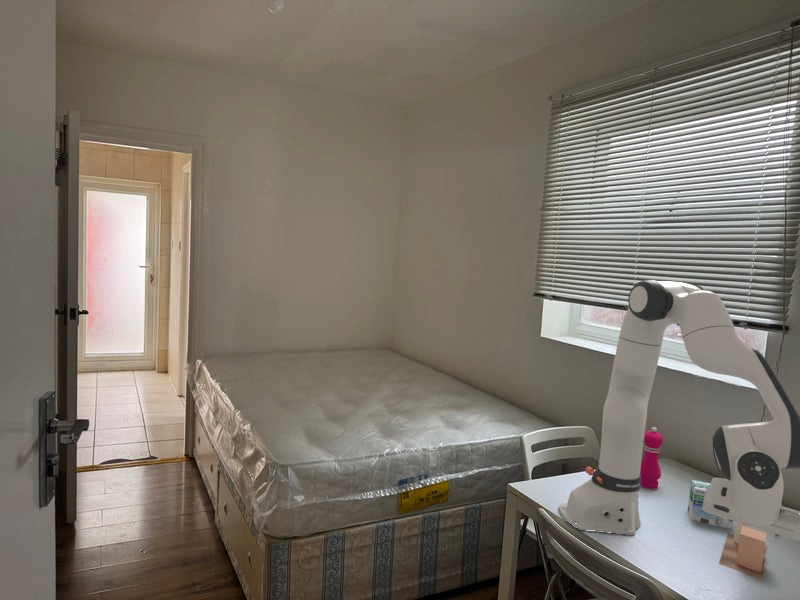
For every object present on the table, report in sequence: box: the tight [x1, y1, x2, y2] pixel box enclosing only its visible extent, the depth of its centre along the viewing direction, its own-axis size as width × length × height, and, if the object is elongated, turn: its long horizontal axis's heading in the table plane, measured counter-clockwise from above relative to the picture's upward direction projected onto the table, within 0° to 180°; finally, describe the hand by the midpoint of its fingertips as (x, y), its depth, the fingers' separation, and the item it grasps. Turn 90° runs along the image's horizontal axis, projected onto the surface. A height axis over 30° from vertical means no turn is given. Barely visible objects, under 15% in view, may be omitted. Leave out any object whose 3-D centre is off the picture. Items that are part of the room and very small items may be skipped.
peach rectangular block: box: [736, 526, 768, 572], centre depth 135 cm, size 5×5×8 cm
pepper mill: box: [640, 426, 664, 490], centre depth 179 cm, size 7×7×20 cm
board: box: [718, 533, 768, 580], centre depth 139 cm, size 19×9×4 cm, turn 143°
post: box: [733, 521, 749, 544], centre depth 145 cm, size 3×3×7 cm
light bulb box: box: [687, 479, 732, 529], centre depth 156 cm, size 11×7×11 cm, turn 70°
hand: (753, 528), depth 124 cm, fingers open, 8 cm apart
